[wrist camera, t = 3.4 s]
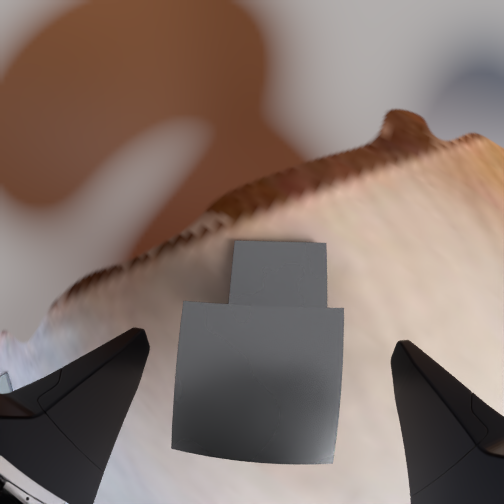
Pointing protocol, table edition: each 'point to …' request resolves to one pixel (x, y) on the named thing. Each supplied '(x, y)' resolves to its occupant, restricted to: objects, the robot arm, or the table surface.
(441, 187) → the table surface
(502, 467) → the robot arm
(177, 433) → the bracket
